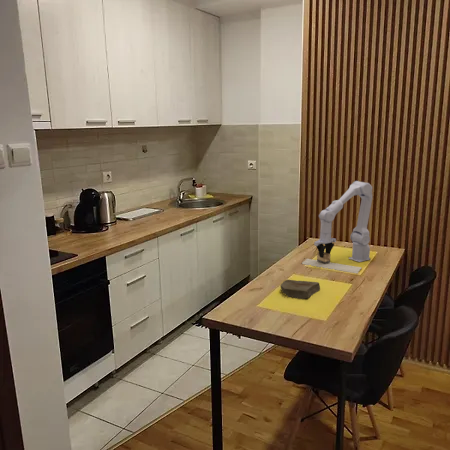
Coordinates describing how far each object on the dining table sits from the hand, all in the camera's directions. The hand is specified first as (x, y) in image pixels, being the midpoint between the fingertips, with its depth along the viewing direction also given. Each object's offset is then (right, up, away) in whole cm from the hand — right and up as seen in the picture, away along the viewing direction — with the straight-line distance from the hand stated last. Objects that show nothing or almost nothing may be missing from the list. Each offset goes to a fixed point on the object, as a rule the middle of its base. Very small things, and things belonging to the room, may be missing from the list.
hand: (324, 256), depth 231 cm
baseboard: (+2, -6, -4) cm, 7 cm away
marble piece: (-20, -14, -38) cm, 46 cm away
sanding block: (0, -3, +1) cm, 3 cm away
